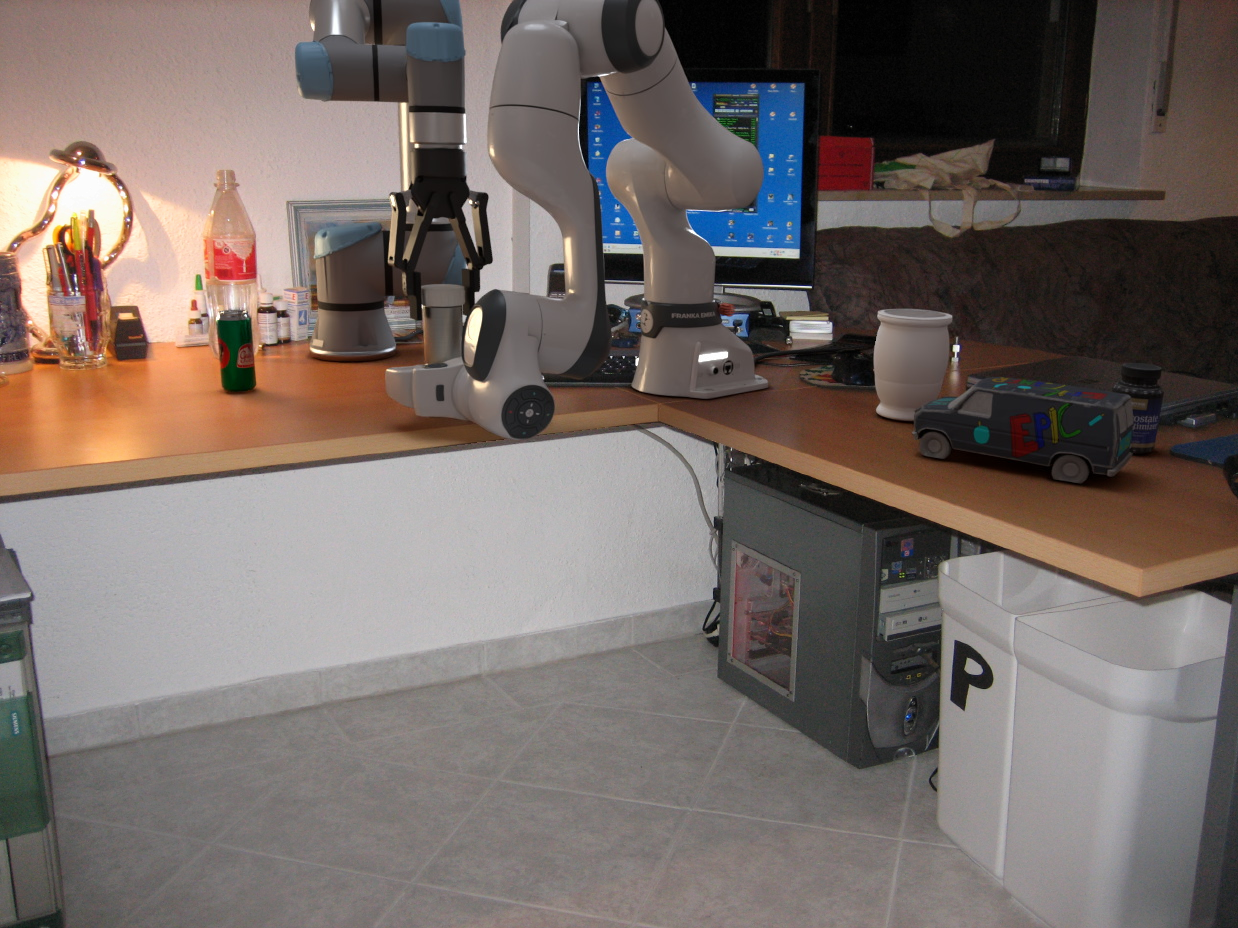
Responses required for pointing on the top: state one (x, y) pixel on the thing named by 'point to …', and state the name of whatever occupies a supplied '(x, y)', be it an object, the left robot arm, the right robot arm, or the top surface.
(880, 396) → the jar
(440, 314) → the metal thermos bottle
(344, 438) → the top surface
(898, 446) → the top surface
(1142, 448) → the pill bottle
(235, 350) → the soda can
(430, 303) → the lid
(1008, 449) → the toy van
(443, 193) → the left robot arm
